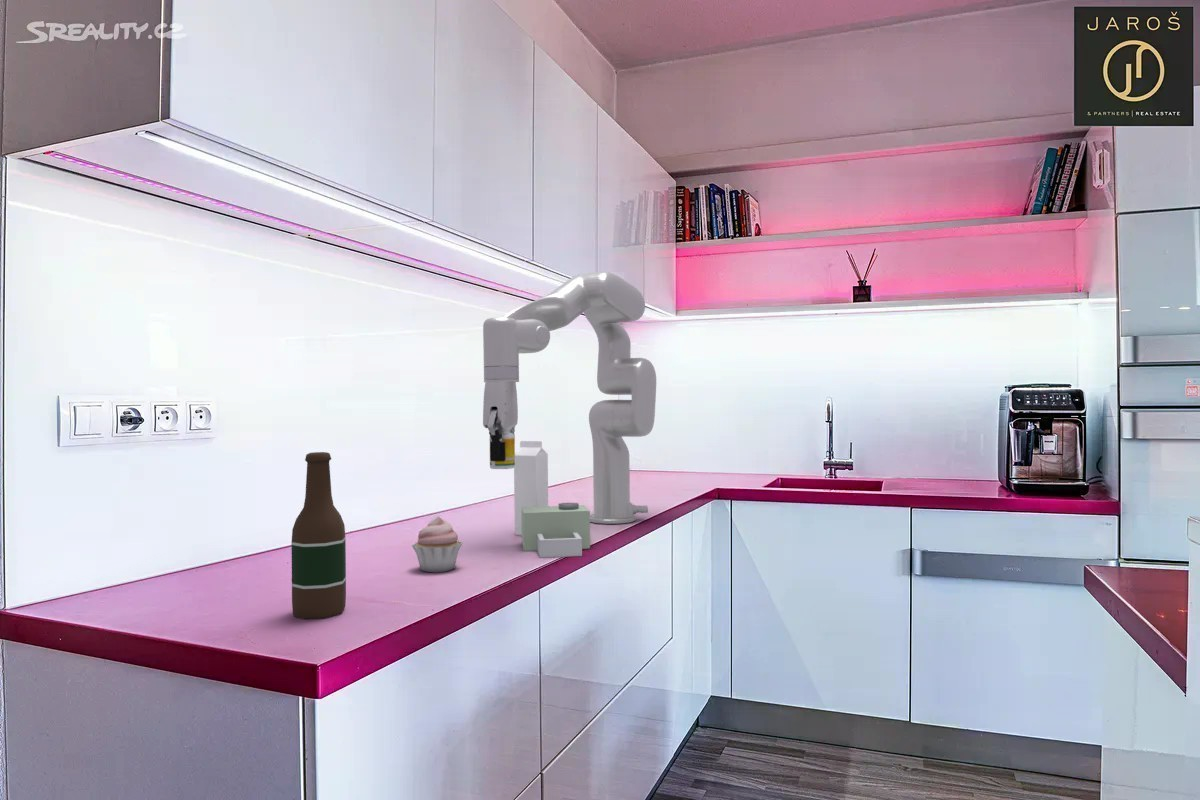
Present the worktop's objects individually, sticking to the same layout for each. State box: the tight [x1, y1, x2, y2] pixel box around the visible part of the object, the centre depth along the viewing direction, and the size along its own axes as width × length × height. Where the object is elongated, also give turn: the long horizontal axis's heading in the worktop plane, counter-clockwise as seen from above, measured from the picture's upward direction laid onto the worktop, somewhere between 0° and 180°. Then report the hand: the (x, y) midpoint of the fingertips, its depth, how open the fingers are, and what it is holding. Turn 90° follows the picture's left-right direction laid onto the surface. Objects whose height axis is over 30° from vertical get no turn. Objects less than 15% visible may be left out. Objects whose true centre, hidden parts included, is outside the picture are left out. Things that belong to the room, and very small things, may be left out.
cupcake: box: [411, 515, 464, 573], centre depth 143 cm, size 9×9×10 cm
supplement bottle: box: [489, 425, 516, 470], centre depth 163 cm, size 5×5×10 cm
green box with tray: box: [521, 502, 591, 559], centre depth 162 cm, size 14×16×9 cm
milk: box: [513, 440, 549, 536], centre depth 181 cm, size 6×6×22 cm
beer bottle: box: [291, 451, 347, 620], centre depth 114 cm, size 8×8×24 cm
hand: (502, 458), depth 163 cm, fingers closed on supplement bottle, 5 cm apart
